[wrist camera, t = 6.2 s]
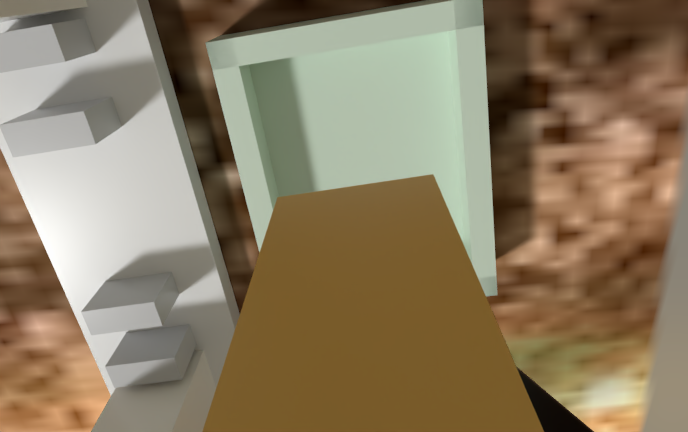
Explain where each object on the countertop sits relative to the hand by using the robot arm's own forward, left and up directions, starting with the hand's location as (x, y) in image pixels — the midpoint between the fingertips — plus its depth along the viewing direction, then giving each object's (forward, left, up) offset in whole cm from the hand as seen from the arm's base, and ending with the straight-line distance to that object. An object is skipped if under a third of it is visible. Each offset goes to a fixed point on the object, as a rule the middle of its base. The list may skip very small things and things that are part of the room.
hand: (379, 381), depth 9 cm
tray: (0, 0, -11) cm, 11 cm away
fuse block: (0, +9, -11) cm, 14 cm away
